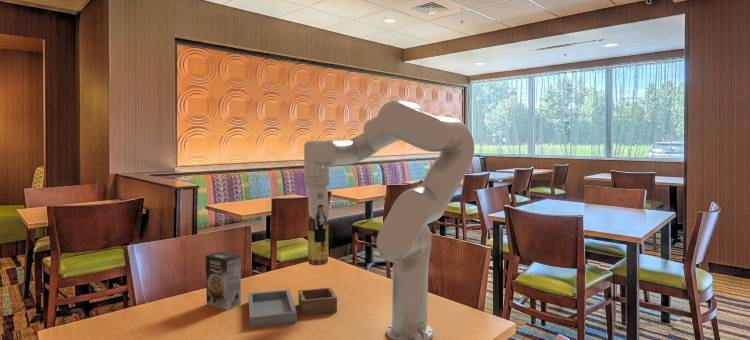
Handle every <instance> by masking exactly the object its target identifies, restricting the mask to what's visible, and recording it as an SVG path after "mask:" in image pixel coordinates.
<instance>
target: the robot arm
mask: <svg viewBox="0 0 750 340" xmlns="http://www.w3.org/2000/svg"><path fill="white" fill-rule="evenodd" d="M399 141H402V142H403V143H407V144H408V145H411V146H413V147H414V148H415V147H416V148H417V149H420V150H422V151H426V152H429V153H436V152H437V153H438V152H440V153H439V156H438V157H437V158H436V160H435V161H434V162H433V164H432V165H431V166H430V168H429V169H428V172H427V174H426V176H425V177H424V178H423V180H422V182H421V183H420V185H419V186H417V187H413V188H409V189H406V190H404V191H403V192H402V193H400V195H399V196H398V197H397V198H396V200H394V203H393V204H392V205H391V208H390V210H389V212H388V214H387V215H386V217H385V219H384V221H383V223H382V225H381V226H380V229H379V230H378V233H377V237H376V249H377V252H378V254H379V255H380V257H381V258H382V259H384V260H385V261H387V262H391V263H392V288H391V289H392V295H391V296H392V299H391V300H392V302H391V303H392V305H391V306H392V309H391V311H392V312H391V315H392V316H391V317H392V318H391V320H392V321H391V323H390V324H389V325H387V327H386V329H385V330H386V336H387V337H389V339H391V340H431V339H432V337H434V336H433V335H434V334H433V332H434V329H433V328H432V327H431V326H430V325H429V324H428V301H429V300H428V299H429V298H428V297H429V296H428V293H429V292H428V291H429V263H430V262H429V260H430V255H431V248H432V232H431V229H430V226H428V224H431V223H433V222H436V221H439V219H441V217H443V215H444V213H445V211H446V209H447V208H448V206H449V204H450V203H451V201H452V199H453V197H454V196H455V194H456V192H457V190H458V189H459V186H461V183H462V181H463V179H465V178H464V177H465V176H466V175H467V172H468V171H469V168H470V166H471V165H472V162H473V160H474V155H475V141H474V138H473V134H472V133H471V131H470V130H469V128H468V127H467V125H466V124H465V123H463V121H460V120H459V119H456V118H453V117H450V116H449V117H447V116H436V115H432V114H430V113H427V112H425V111H424V110H423V109H422V107H420V106H419V104H416V103H414V102H410V101H404V100H396V99H395V100H391V101H390V100H389V101H388V102H386V103H384V104H383V105H382V106H381V108H380V109H379V110H378V114H377V116H375V117H373V118H371V119H369V120H367V121H366V122H365V123H364V124H363V133H361V134H359V135H357V136H354V137H352V138H350V139H331V140H330V139H329V140H310V141H309V140H307V141H305V143H304V145H303V158H304V159H303V161H304V162H303V164H304V165H303V166H304V167H303V169H304V170H303V171H304V187H306V188H308V190H307V192H308V193H307V194H308V200H307V201H308V215H309V216H310V217H312V218H313V219H314V220H315V229H314V238H315V242H325V222H324V217H325V218H326V220H328V219H329V218H330V210H329V209H330V208H329V194H328V187H329V186H330V167H335V166H346V165H352V164H353V165H354V164H356V163H358V162H361V161H363V160H366V159H368V158H370V157H372V156H373V155H375V154H377V152H380V150H381V149H383V148H386V147H388V146H390V145H392V144H395V143H397V142H399ZM316 217H319V218H316ZM317 221H318V222H317Z"/></svg>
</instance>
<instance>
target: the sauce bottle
mask: <svg viewBox="0 0 750 340" xmlns="http://www.w3.org/2000/svg"><path fill="white" fill-rule="evenodd" d="M316 218H319V217H316ZM317 222H318V221H317ZM324 222H325V242H315V238H314V229H315V220H314V219H313V218H312V217H311V216H310V217H309V219H308V222H307V258H308V264H309V265H311V266H323V265H327V264H328V261H329V224H328V221H327V219H326V218H325V217H324Z"/></svg>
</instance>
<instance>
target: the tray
mask: <svg viewBox="0 0 750 340" xmlns="http://www.w3.org/2000/svg"><path fill="white" fill-rule="evenodd" d="M247 296H248V301H247V302H248V318H249V329H251V328H253V329H255V328H260V327H270V326H279V325H280V326H281V325H287V324H288V325H289V324H294V323H295V324H296V323H298V314H297V313H298V312H297V309H296V307H295V303H294V300H293V297H292V294H291V291H290V288H289V289H278V290H268V291H258V292H248V295H247Z"/></svg>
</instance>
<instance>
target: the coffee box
mask: <svg viewBox="0 0 750 340" xmlns="http://www.w3.org/2000/svg"><path fill="white" fill-rule="evenodd" d="M241 256H242V255H241V254H235V253H229V252H225V251H224V252H223V251H218V252H214V253H210V254H206V255H205V277H206V279H205V281H206V282H205V284H206V291H205V292H206V306H209V307H212V308H216V309H220V310H223V311H230V310H231V309H233V308H235V307H238V306H240V305H241V304H242V301H241V299H242V297H241V296H242V290H241V289H242V286H241V284H242V283H241V279H242V278H241V277H242V275H241V269H242V267H241V266H242V265H241V262H242V261H241Z"/></svg>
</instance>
